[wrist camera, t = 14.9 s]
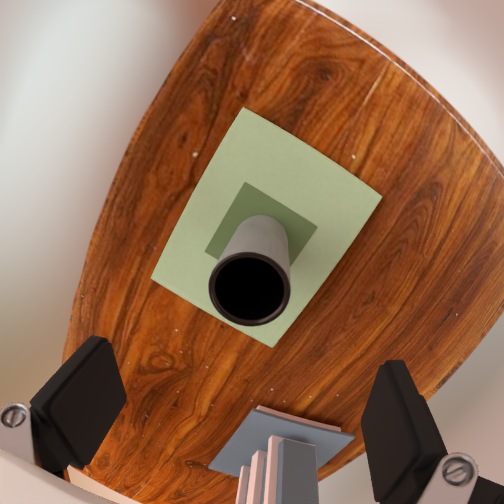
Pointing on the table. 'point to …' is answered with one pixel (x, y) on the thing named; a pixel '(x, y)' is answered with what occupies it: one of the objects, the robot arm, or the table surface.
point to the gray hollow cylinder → (253, 274)
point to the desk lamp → (279, 457)
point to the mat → (271, 204)
